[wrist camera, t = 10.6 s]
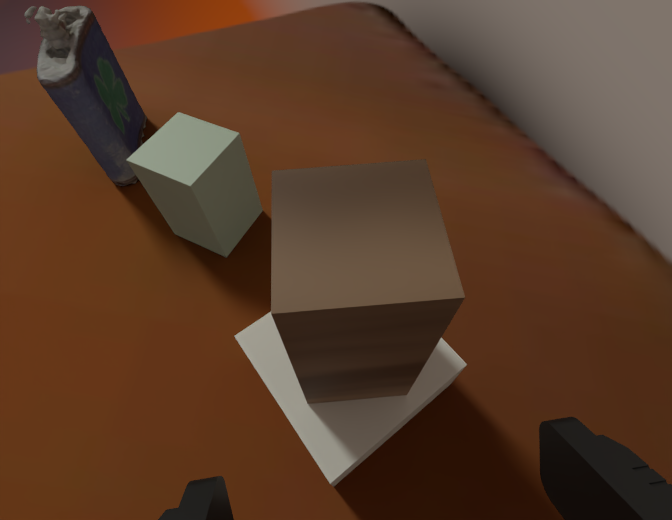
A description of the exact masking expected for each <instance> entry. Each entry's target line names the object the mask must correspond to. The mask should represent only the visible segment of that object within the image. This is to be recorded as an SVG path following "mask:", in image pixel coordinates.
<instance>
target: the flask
mask: <svg viewBox="0 0 672 520" xmlns="http://www.w3.org/2000/svg"><path fill="white" fill-rule="evenodd" d="M35 9H36V7H33V6H32V7H30V8H29V9H28V10H27V12H25V17H26V18H31V17H32V15H33V12H34V10H35ZM35 20H36V22H38V24H39V25H40V29H41V37H43V40H42V41H41V46H40V51H39V55H38V65H37V78H38V80H39V82H40V83H41V85H42V86H43V88H44V89H45V90H46V91H47V93H48V94H49V96H50V97H51V98H52V100H53V101H54V102H55V104H56V105H57V106H58V108H59V109H60V110H61V111H62V113H63V114H64V116H65V117H66V118H67V120H68V121H69V122H70V124H71V125H72V126H73V128H74V129H75V130H76V132H77V134H78V135H79V137H80V138H81V139H82V140H83V142H84V143H85V144H86V145H87V147H88V148H89V150H90V151H91V153H92V155H93V156H94V157H95V159H96V160H97V162H98V163H99V164H100V166H101V167H102V168H103V169H104V171H105V172H106V174H107V176H108V177H109V178H110V179H111V180H112V181H113V182H114V183H115V184H116V185H119V186H125V184H126V185H128V184H131V183H136V181H137V179H138V177H137V176H136V174H135V173H134V171H133V170H132V168H131V167H130V165H129V164H128V162H127V161H126V160H127V159H128V158H129V157H130V156H131V155H132V154H133V153H134V152H135V151H136V150H137V149H139V148H140V147H141V146H142V145H143V144H142V143H143V142H142V140H141V139H142V137H143V136H145V135H144V134H143V129H144V128H145V127H146V126H145V122H146V119H147V117H146V115H145V114H144V112H143V110H142V108H141V106H140V105H139V103H138V101H137V99H136V97H135V95H134V93H133V91H132V90H131V88H130V86H129V83H128V81H127V79H126V77H125V75H124V73H123V71H122V69H121V67H120V66H119V64H118V62H117V59H116V57H115V55H114V53H113V51H112V50H111V48H110V46H109V43H108V41H107V39H106V37H105V36H104V34H103V32H102V31H101V27H100V25H99V24H98V22H97V20H96V17H95V15H94V14H93V12H92V11H91V9H89V8H87V7H86V6H76V7H65V8H62V10H56V11H55V14H54V15H53V14H52V13H51V10H49V9H48V8H45V7H43V6H42V7H40V8H39V10H38V12H37V15H36V16H35ZM26 22H27V23H28V24H30V21H29V20H28V19H27V20H26ZM117 182H119V183H122V184H119V183H117Z"/></svg>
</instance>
